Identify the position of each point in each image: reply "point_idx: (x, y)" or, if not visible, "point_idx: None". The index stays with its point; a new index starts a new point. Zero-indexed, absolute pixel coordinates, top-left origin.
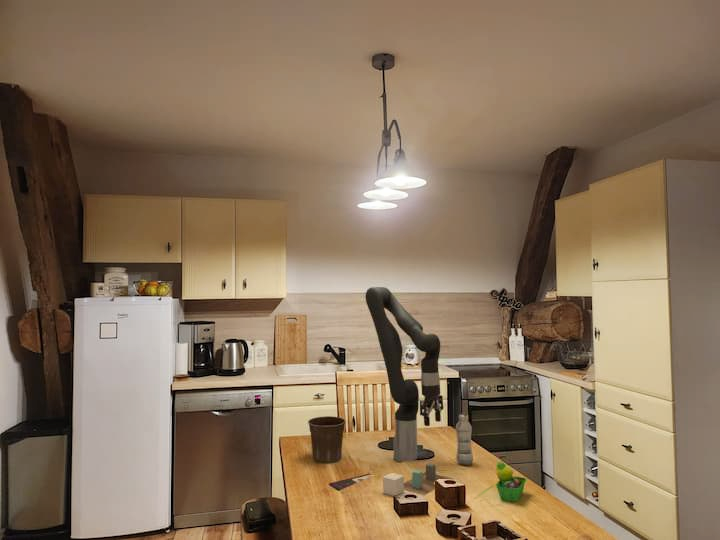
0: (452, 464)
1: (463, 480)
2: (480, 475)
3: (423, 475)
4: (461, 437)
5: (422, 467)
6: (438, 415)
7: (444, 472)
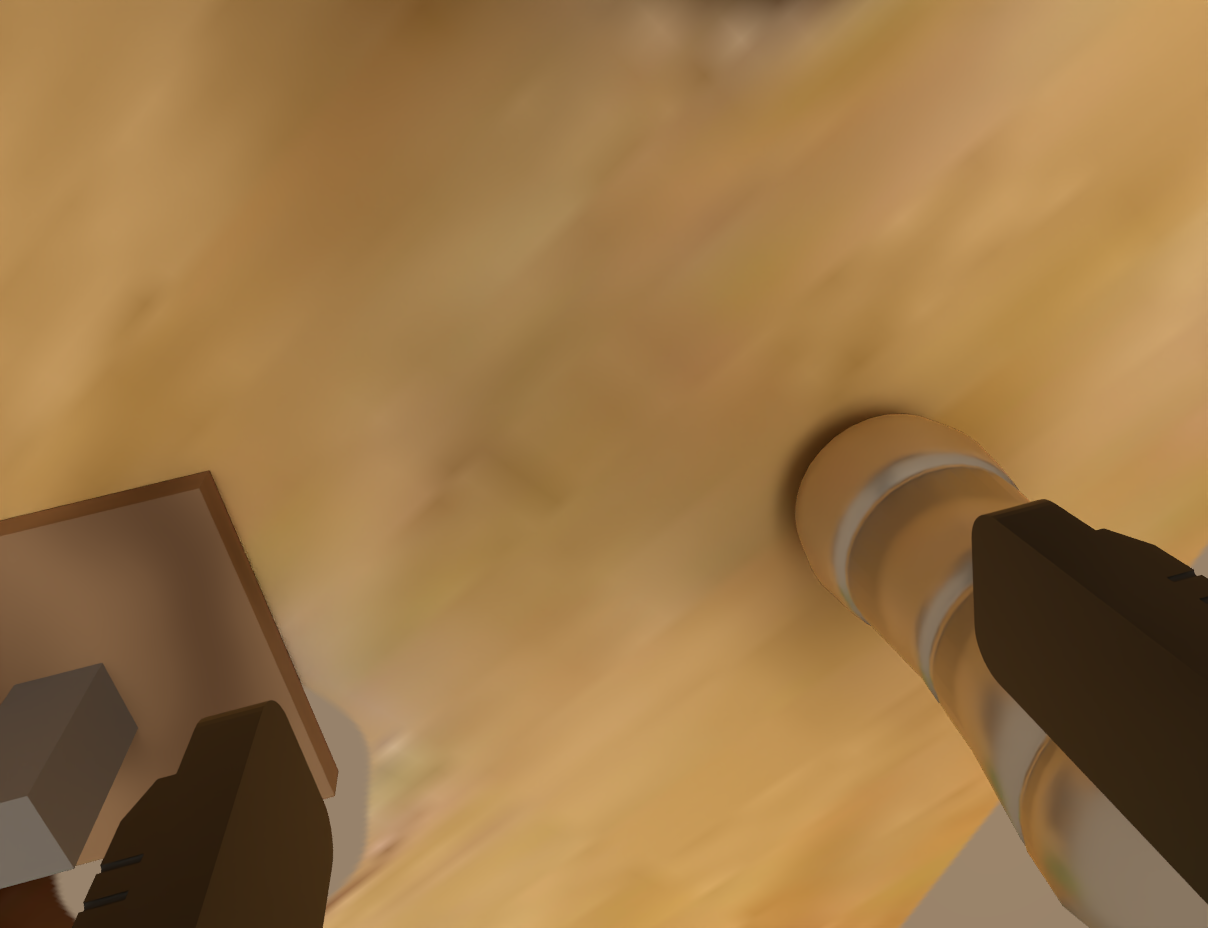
0: (762, 401)
1: (453, 789)
2: (689, 780)
3: (76, 568)
4: (972, 748)
5: (364, 228)
6: (1121, 764)
7: (468, 537)
